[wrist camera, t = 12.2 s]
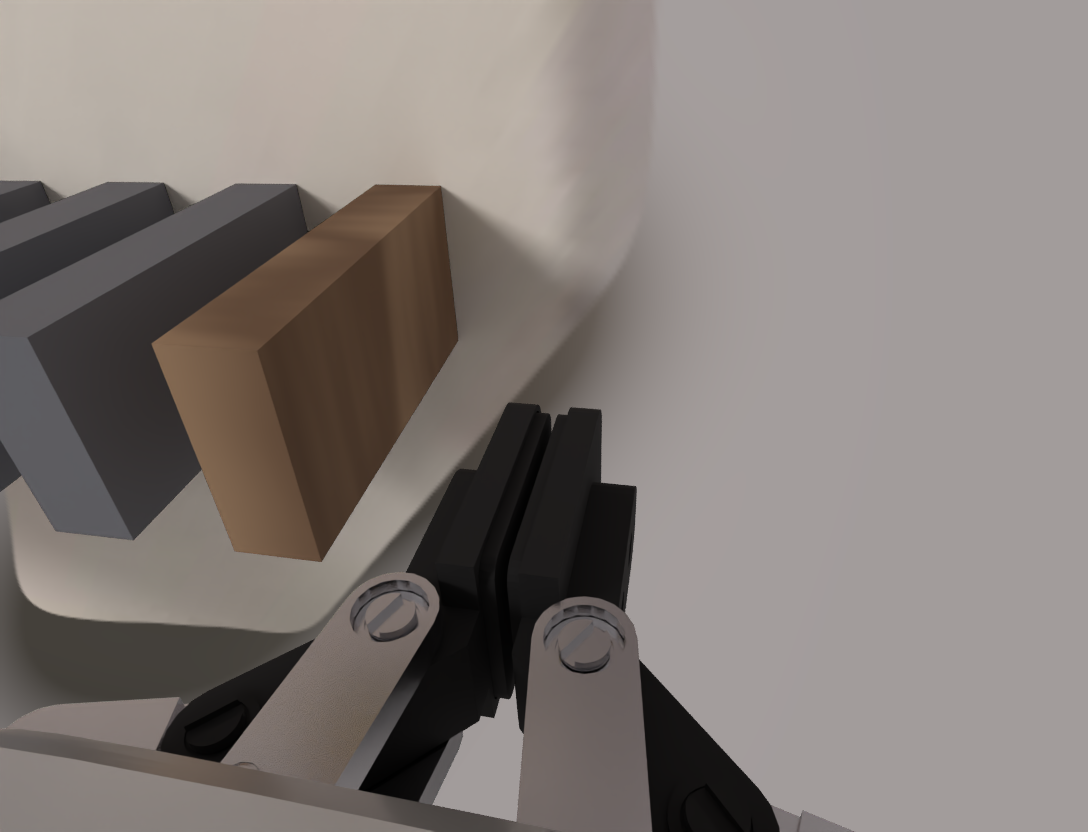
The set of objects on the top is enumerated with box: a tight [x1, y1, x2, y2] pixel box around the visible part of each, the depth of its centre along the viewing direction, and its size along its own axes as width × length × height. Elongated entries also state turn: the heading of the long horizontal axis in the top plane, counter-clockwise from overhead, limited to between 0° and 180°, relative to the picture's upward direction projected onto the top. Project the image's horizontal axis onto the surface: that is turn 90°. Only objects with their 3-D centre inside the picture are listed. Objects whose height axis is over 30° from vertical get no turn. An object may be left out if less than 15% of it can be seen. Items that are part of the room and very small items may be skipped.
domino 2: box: [0, 184, 308, 540], centre depth 18 cm, size 2×5×10 cm, turn 2°
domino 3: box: [151, 185, 458, 562], centre depth 17 cm, size 2×5×10 cm, turn 1°
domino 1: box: [0, 182, 174, 492], centre depth 18 cm, size 2×5×10 cm, turn 2°
